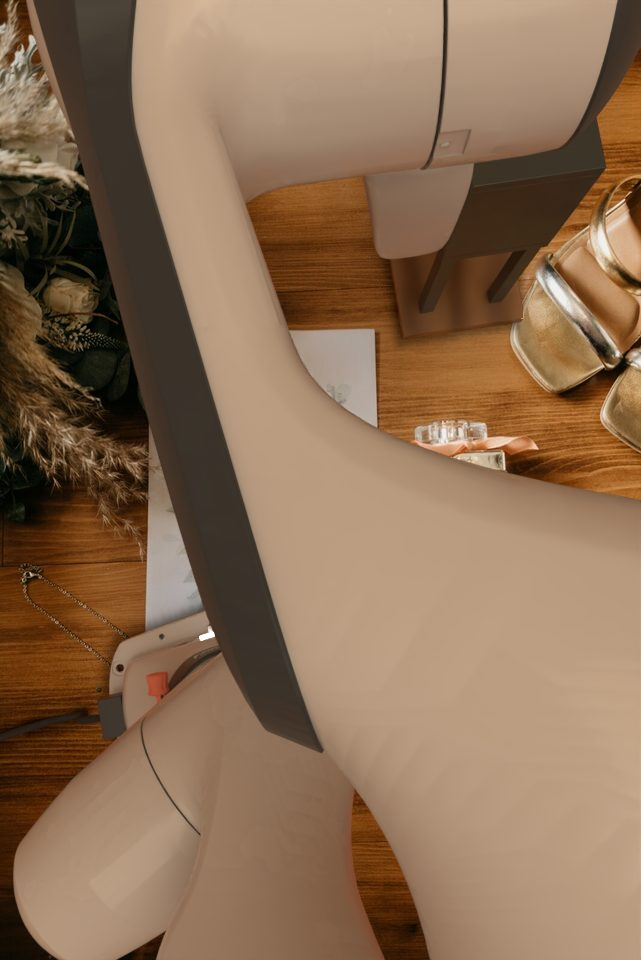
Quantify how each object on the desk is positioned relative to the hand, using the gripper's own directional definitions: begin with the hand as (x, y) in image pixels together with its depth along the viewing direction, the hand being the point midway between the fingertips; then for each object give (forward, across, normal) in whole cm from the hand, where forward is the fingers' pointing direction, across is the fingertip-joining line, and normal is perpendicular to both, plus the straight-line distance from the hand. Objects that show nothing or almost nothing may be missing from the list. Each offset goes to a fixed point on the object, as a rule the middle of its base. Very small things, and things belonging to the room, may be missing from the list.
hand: (373, 141), depth 45 cm
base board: (+38, -8, +13) cm, 41 cm away
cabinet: (+37, -8, +13) cm, 40 cm away
